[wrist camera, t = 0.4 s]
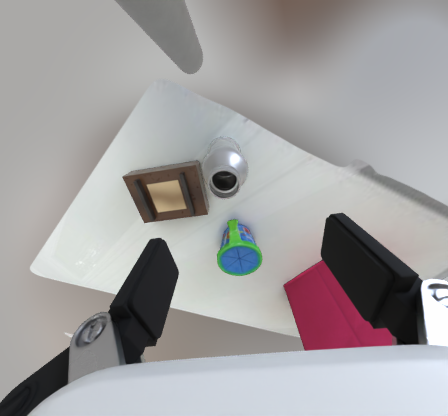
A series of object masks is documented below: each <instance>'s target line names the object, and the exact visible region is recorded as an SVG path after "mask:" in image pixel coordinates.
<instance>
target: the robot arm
mask: <svg viewBox="0 0 448 416" xmlns="http://www.w3.org/2000/svg"><path fill="white" fill-rule="evenodd" d="M321 257H322V259H323V261H324V262H325V264H326V265H327V267H328V268H329V270H330V271H331V272H332V274H333V275H334V277H335V278H336V280H337V281H338V283H339V284H340V286H341V287H342V289H343V290H344V292H345V293H346V295H347V296H348V297H349V299H350V300H351V302H352V303H353V305H354V306H355V308H356V309H357V311H358V312H359V314H360V315H361V317H362V318H363V319H364V320H365V321H368V322H369V323H370V325H371V326H372V327H373V329H381V328H387V329H388V331H389V332H390V333H391V334H392V346H373V347H356V348H340V349H324V350H309V351H293V352H279V353H265V354H250V355H237V356H222V357H209V358H195V359H181V360H168V361H157V362H145V359H144V355H143V352H144V349H145V347H148V346H156V342H157V339H158V338H160V337H161V334H162V331H163V328H164V324H165V320H166V317H167V314H168V310H169V307H170V303H171V300H172V296H173V293H174V289H175V286H176V282H177V279H178V275H179V271H178V268H177V266H176V264H175V262H174V259H173V257H172V255H171V253H170V250H169V248H168V246H167V244H166V242H165V240H162V239H161V238H155V239H150V240H149V242H148V244H147V245H146V247H145V249H144V250H143V252H142V254H141V255H140V257H139V259H138V260H137V262H136V264H135V265H134V267H133V269H132V270H131V272H130V274H129V275H128V277H127V279H126V280H125V282H124V284H123V285H122V287H121V289H120V290H119V292H118V294H117V295H116V297H115V299H114V300H113V302H112V303H111V305H110V310H109V311H108V313H107V312H100V313H97V314H95V315H93V316H91V317H90V318H89V319H87V320H86V321H84V323H82V324H81V325H80V326H79V328H78V329H77V330H76V332H75V333H74V335H73V337H72V339H71V342H70V346H69V347H68V348H67V349H66V350H64V351H63V352H61V353H60V354H59V355H58V356H56V357H55V358H53V359H52V360H51V361H50V362H48V363H47V364H46V365H44V366H43V367H42V368H40V369H39V370H38V371H36V372H35V373H34V374H32V375H31V376H30V377H28V378H27V379H26V380H24V381H23V382H22V383H20V384H19V385H18V386H17V387H15V388H14V389H13V390H12V391H11V392H10V393H9V394H8V395H7V396H6V397H5V398H4V399H3V400H2V402H1V403H0V416H448V282H446V281H443V280H436V279H430V280H425V281H424V282H423V281H422V280H421V279H420V278H419V277H418V276H419V275H418V274H417V273H416V272H414V271H413V270H412V269H411V268H410V267H408V266H407V265H406V264H405V263H403V262H402V261H401V260H400V259H399V258H397V257H396V256H395V255H394V254H392V253H391V252H390V251H389V250H388V249H386V248H385V247H384V246H383V245H382V244H380V243H379V242H378V241H377V240H375V239H374V238H373V237H372V236H371V235H369V234H368V233H367V232H366V231H365V230H363V229H362V228H361V227H360V226H358V225H357V224H356V223H355V222H354V221H352V220H351V219H350V218H349V217H348V216H346V215H345V214H344V213H337V214H331V215H330V216H329V217H328V218H326V223H325V229H324V236H323V242H322V248H321Z"/></svg>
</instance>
